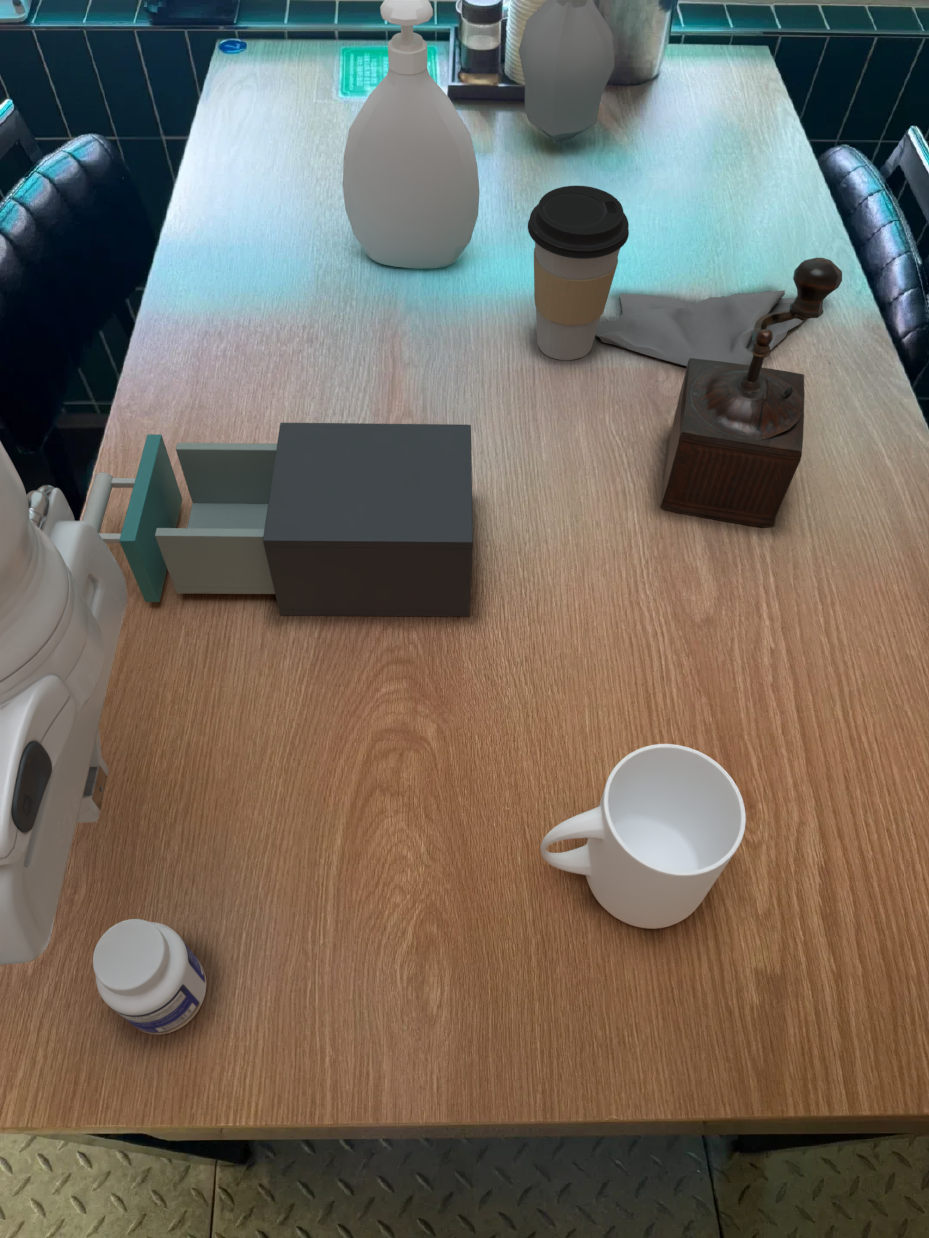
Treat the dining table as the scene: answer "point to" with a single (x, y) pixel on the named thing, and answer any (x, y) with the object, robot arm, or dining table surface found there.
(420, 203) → the soap bottle
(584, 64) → the bottle
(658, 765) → the mug
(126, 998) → the pill bottle
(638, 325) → the cloth
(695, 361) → the manual coffee grinder
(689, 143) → the dining table surface
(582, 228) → the coffee cup
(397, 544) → the drawer cabinet
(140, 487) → the teal drawer
